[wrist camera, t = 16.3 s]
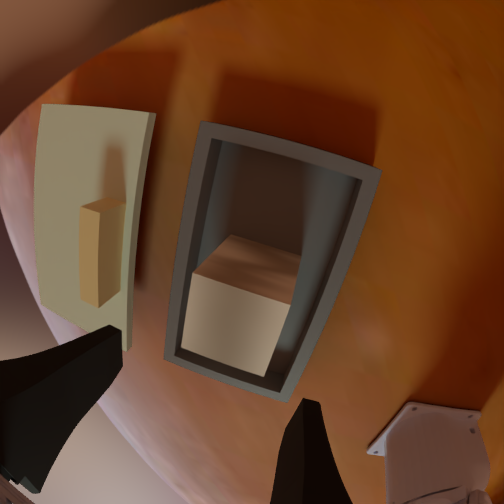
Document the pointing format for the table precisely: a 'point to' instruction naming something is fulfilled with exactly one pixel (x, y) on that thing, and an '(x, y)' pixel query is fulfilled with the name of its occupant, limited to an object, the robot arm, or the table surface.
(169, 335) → the grey storage tray
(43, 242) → the lid
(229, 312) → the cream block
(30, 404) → the robot arm
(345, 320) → the table surface
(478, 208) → the table surface
